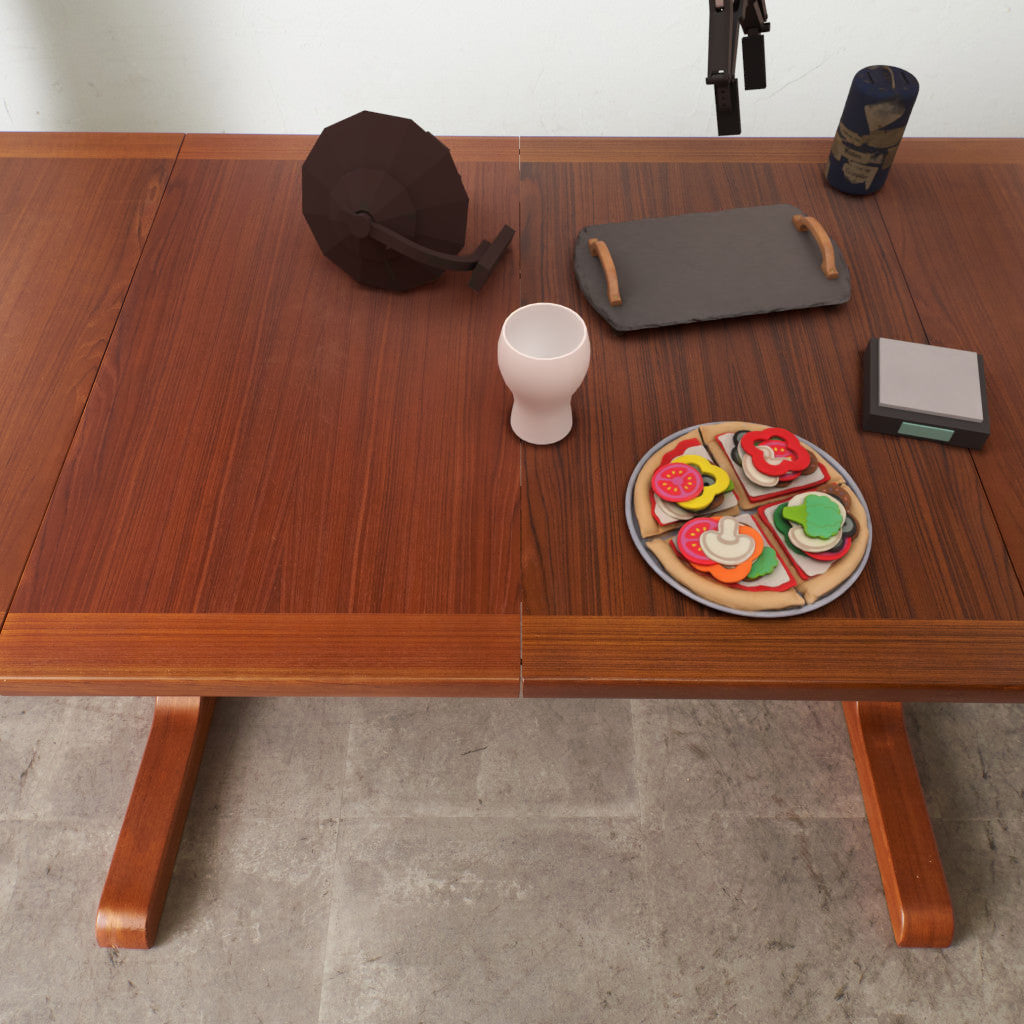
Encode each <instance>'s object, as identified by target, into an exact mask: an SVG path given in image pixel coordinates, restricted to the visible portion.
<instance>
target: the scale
mask: <svg viewBox="0 0 1024 1024" xmlns="http://www.w3.org/2000/svg"><path fill="white" fill-rule="evenodd" d="M862 361H863V364H862V365H863V367H862V372H863V373H862V431H866V432H872V433H877V434H885V435H891V436H895V437H900V438H901V437H902V438H907V439H912V440H913V439H914V440H918V441H919V440H920V441H924V442H931V443H937V444H943V445H949V446H954V447H960V448H967V449H973V450H978V451H981V450H982V448H983V447H984V445H985V443H986V442H987V440H988V439H989V437H990V436H991V421H990V414H989V404H988V403H989V402H988V393H987V383H986V373H985V363H984V355H983V354H982V353H977V352H975V351H970V350H962V349H956V348H949V347H943V346H936V345H930V344H925V343H919V342H918V343H917V342H912V341H911V342H910V341H905V340H899V339H891V338H886V337H885V338H884V337H879V338H878V337H870V338H869V340H868V342H867V345H866V346H865V350H864V352H863V360H862Z"/></svg>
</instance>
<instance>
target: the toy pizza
mask: <svg viewBox="0 0 1024 1024" xmlns="http://www.w3.org/2000/svg"><path fill="white" fill-rule="evenodd" d="M624 502H625V503H624V510H625V520H626V524H627V527H628V531H629V530H630V531H629V534H630V536H631V539H632V542H633V543H634V545H635V547H636V549H637V550H638V552H639V554H640V555H641V557H642V558H643V559H644V561H645V562H646V563H647V564H648V566H649V567H650V568H651V569H652V570H653V571H654V572H655V573H656V574H657V575H658V576H659V578H661V579H662V580H663V581H665V582H666V583H667V584H669V586H671V587H672V588H674V589H675V590H677V591H678V592H680V593H681V594H682V595H684V596H686V597H688V598H690V599H691V600H693V601H695V602H698V603H700V604H702V605H703V606H706V607H709V608H712V609H714V610H717V611H721V612H724V613H728V614H731V615H736V616H740V617H741V616H742V617H747V618H748V617H750V618H764V619H765V618H768V619H770V618H771V619H774V618H785V617H793V616H798V615H801V614H805V613H808V612H812V611H814V610H817V609H819V608H821V607H824V606H825V605H828V604H830V603H832V602H833V601H835V600H836V599H838V598H839V597H841V596H842V595H843V594H844V593H845V592H846V591H848V590H849V588H850V587H851V586H852V585H853V584H854V583H855V582H856V581H857V579H858V578H859V576H861V574H862V571H863V570H864V569H865V566H866V564H867V562H868V559H869V557H870V554H871V553H870V552H871V549H872V542H873V540H872V539H873V524H872V520H871V519H872V518H871V514H870V511H869V508H868V504H867V502H866V500H865V497H864V496H863V493H862V491H861V490H860V488H859V487H858V485H857V483H856V482H855V481H854V479H853V478H852V477H851V475H850V474H849V472H847V470H846V469H845V468H844V467H843V466H842V465H841V464H840V463H839V462H838V461H837V460H836V459H835V458H833V457H832V456H831V455H830V454H828V453H827V452H826V451H824V449H821V448H820V447H818V446H817V445H815V444H814V443H812V442H810V441H808V440H807V439H805V438H803V437H801V436H799V435H797V434H794V433H793V432H791V431H789V430H787V429H784V428H781V427H774V426H769V425H765V424H760V423H755V422H746V421H731V420H730V421H729V420H728V421H713V422H706V423H701V424H697V425H692V426H689V427H686V428H684V429H683V428H682V429H681V430H679V431H676V432H674V433H672V434H670V435H668V436H666V437H665V438H663V439H661V440H660V441H658V442H657V443H656V444H655V445H654V446H652V447H651V448H650V449H649V450H648V451H647V452H645V454H644V455H643V456H642V458H641V459H640V460H639V461H638V463H637V464H636V466H635V467H634V469H633V471H632V473H631V475H630V478H629V480H628V483H627V488H626V491H625V501H624ZM631 509H632V510H631Z"/></svg>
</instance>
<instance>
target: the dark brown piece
mask: <svg viewBox="0 0 1024 1024" xmlns="http://www.w3.org/2000/svg"><path fill="white" fill-rule="evenodd" d="M469 205H470V198H469V195H468V193H467V190H466V188H465V185H464V183H463V181H462V175H461V174H460V173H459V170H458V169H457V166H456V164H455V161H454V158H453V156H452V153H451V149H450V148H449V147H448V146H446V144H445V143H443V142H442V141H441V140H440V139H439V138H437V137H436V136H435V135H434V134H433V133H431V131H429V130H427V131H426V130H425V129H424V128H423V127H421V126H420V125H419V124H418V123H416V122H415V121H414V120H413V119H412V118H407V117H402V116H397V115H391V114H387V113H382V112H376V111H371V110H366V109H364V110H362V111H359V112H357V113H355V114H353V115H349V116H348V117H346V118H344V119H341V120H340V121H336V122H334V123H333V124H330V125H328V126H326V127H324V128H323V129H322V131H321V133H320V134H319V136H318V138H317V140H316V141H315V143H314V145H313V146H312V147H311V150H310V152H309V153H308V155H307V157H306V158H305V160H304V162H303V164H301V213H302V216H303V218H304V219H305V221H306V223H307V225H308V227H309V230H310V231H311V233H312V235H313V237H314V239H315V241H316V243H317V246H318V247H319V249H320V251H321V253H322V256H323V257H325V258H327V259H328V260H329V261H330V262H332V263H333V264H334V265H335V266H337V267H338V268H339V269H340V270H341V271H343V272H344V273H345V274H347V275H348V276H349V277H350V278H351V279H353V280H354V281H355V282H357V283H358V284H359V285H360V284H361V285H365V286H369V287H374V288H379V289H383V290H388V291H394V292H398V293H403V292H405V291H408V290H411V289H414V288H417V287H420V286H422V285H426V284H428V283H431V282H434V281H437V280H440V279H441V277H442V276H443V274H444V273H445V272H446V271H449V272H450V271H452V272H459V273H460V272H461V273H463V272H466V273H467V272H471V271H473V272H472V274H471V276H470V277H469V278H470V279H469V280H468V283H467V287H468V288H471V289H472V290H473V291H475V292H476V293H477V294H479V293H480V291H481V290H482V289H483V287H484V285H485V284H486V283H487V281H488V279H489V278H490V277H491V275H492V274H493V272H494V271H495V270H496V267H497V266H498V265H499V264H500V262H501V260H502V259H503V257H504V256H505V254H506V253H507V251H508V250H509V249H508V248H509V246H510V245H511V242H512V241H513V238H514V236H515V234H516V232H517V231H516V230H515V229H514V228H512V227H510V226H509V225H508V224H506V223H505V224H504V226H503V227H502V228H501V230H500V231H499V232H498V234H497V235H496V237H495V238H494V239H493V240H492V242H490V241H488V240H486V239H484V238H483V240H481V242H480V244H478V246H477V247H476V249H475V250H474V251H473V252H472V253H470V254H466V255H459V253H460V252H461V251H462V250H463V248H464V247H465V244H466V236H467V235H466V233H467V225H468V215H469V214H468V213H469Z"/></svg>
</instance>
